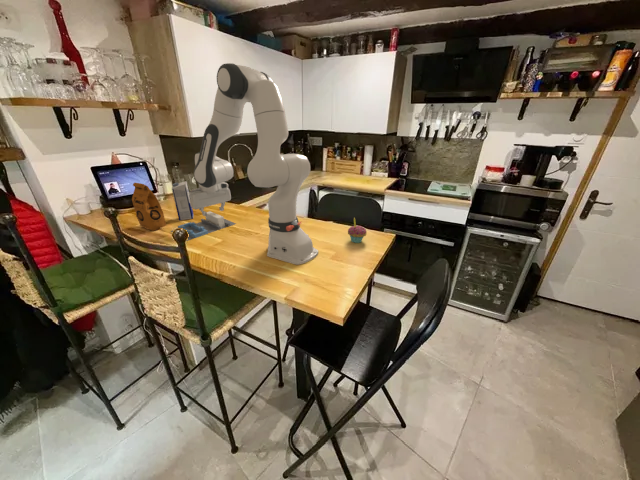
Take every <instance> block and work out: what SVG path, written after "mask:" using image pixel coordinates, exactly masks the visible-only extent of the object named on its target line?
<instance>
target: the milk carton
mask: <svg viewBox="0 0 640 480" xmlns="http://www.w3.org/2000/svg"><path fill="white" fill-rule="evenodd" d="M189 190H190V189H189V186H188V182H187V180H186V181H182V182H174V183H172V187H171V191H172V196H173V199H174V200H173V201H174V204H175V209H176V213H177V216H178V217H177V218H178V221H185V220H186V221H187V220H193V219H194V210H193V208H192V207H191V206H190V198H189V192H190V191H189Z"/></svg>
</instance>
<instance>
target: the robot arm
mask: <svg viewBox="0 0 640 480" xmlns="http://www.w3.org/2000/svg"><path fill="white" fill-rule="evenodd" d="M216 85H217V89H216V94H215V98H214V102H213V103H214V104H213V111H212V115H211V118H210V121H209V124H208V126H206V128H205V129H204V132H203V133H204V134H203V137H202V140H201V141H202V142H201V145H200V151H198V152H196V153H195V155H194V164H195V165H194V169H193V178H194V180H195V181H196V183H198V187H197V188H195V189H193V188H192V189H191V190H190V191H189V198H190V206H191V207H192V209H194V210H199V211H200V212H201V214H202V217H203V216H204V217H206V215H207V212H208V211H205V208H206V207H210V206H215V205H218V204H220V206H219V208H218V209H219V211H220V212H223V211H225V206H226V203H227V202H228V201H229V202H230V201H231V199H232V195H231V190H230V188H229V184H228V183H227V181H229V180H231V179H233V177H234V174H235V173H234V172H235V170H234V167H233V165H232V163H231V162H230V161H229V160H226V159H222V158H220V157H218V156H217V152H218V149H219V147H220V145H221V144H222V143H223V142H225V141H226V140H227V139H229V138H231V137H233V136H234V135H236V134H238V132H239V130H240V129H241V126H242V123H243V115H244V107H245V104H247V103H250V104H251V106H252V111H253V116H254V121H255V127H256V134H257V148H256V152H255V154H254V156H253V158H251V160H250V162H249V163H248V165H247V178H248V180H249V181H250V182H251V184H252V185H254V187H256V188H273V187H276V189H275V191H274V193H273V194H271V196H270V197H269V198H268V202H267V205H268V206H267V207H268V216H269V217H268V221H267V222H268V228H269V234H268V246H267V252H266V256H267V257H269V258H272V259H276V260H279V261H282V262H285V263H290V264H293V265H296V266H297V265H303V264H306V263H308V262H309V261H311V260H314V258H316V257H317V256H318V255H319V250H318V249H317V248H315V247H313V245H314V244H313V240H312V238H311V237H310V235H309V234H308V233H306V232H305V231H304V230H303V229H302V228H301V225H302V221H299V219H298V216H297V201H298V200H297V199H298V195H299V192H300V189H301V187H302V185H303V183H304V181H305V180H307V178H308V177H309V176H310V174H311V163H310V161H309V159H308V157H307V156H305V155H303V154H298V153H286V154H281V145H282V144H283V143H284V142H286V141H287V139H288V137H289V128H288V122H287V117H286V112H285V107H284V102H283V98H282V95H281V93H280V90H279V87H278V85H277V84H276V83H275V82H274V81H273V79H272V77H271V76H270V75H268V74H267V73H266V72H264V71H259V70H257V69H254V68H251V67H249V66H245V65H242V64H236V63H233V62H232V63H231V62H230V63H228V62H227V63H223V64H221V65H220V66H219V68H218V69H217V72H216Z"/></svg>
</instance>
